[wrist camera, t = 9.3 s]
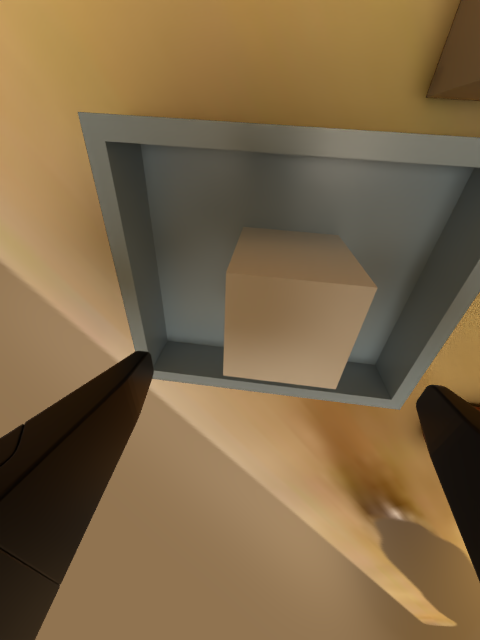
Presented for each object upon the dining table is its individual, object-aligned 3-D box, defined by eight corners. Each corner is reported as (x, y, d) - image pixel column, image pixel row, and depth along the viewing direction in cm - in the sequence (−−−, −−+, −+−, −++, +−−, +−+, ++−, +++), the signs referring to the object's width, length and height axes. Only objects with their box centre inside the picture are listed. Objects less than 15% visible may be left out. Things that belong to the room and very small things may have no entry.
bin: (496, 145, 11) (579, 144, 8) (379, 368, 19) (399, 409, 16) (126, 120, 12) (77, 111, 9) (161, 342, 20) (141, 377, 17)
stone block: (338, 235, 13) (377, 287, 8) (316, 314, 16) (335, 389, 11) (243, 226, 13) (225, 272, 8) (238, 306, 16) (222, 375, 11)
